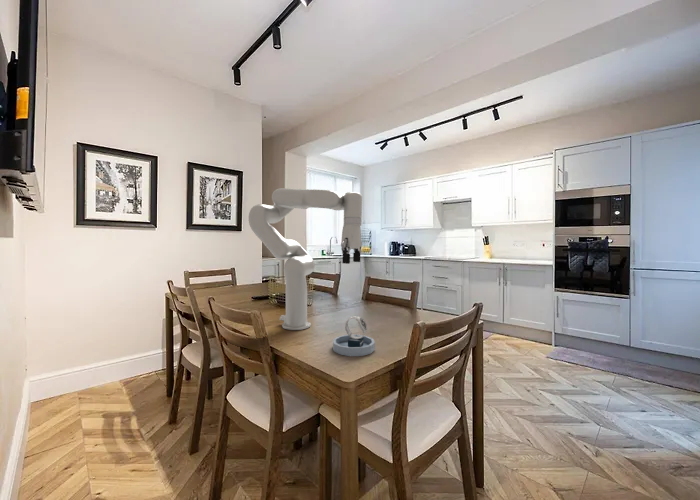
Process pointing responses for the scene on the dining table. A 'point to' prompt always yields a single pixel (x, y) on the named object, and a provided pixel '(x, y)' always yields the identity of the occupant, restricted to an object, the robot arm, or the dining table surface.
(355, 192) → the robot arm
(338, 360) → the dining table surface
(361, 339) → the watch
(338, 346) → the dish
